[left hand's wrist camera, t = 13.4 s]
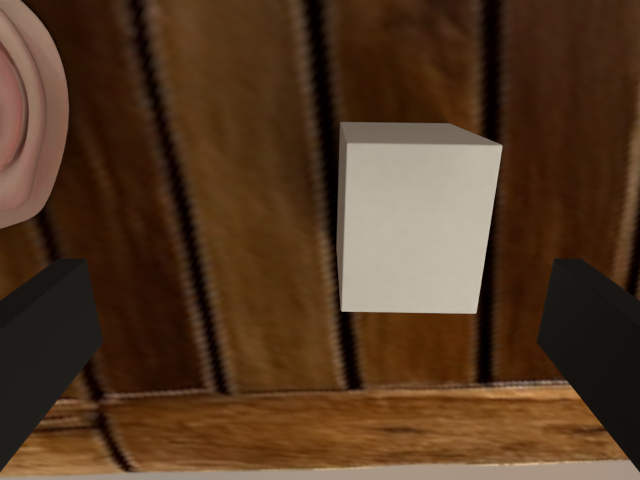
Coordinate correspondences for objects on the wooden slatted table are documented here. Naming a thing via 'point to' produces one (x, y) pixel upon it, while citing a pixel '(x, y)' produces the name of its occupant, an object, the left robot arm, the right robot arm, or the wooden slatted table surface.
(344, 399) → the wooden slatted table surface
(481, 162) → the brick
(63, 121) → the anatomical model
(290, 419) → the wooden slatted table surface
